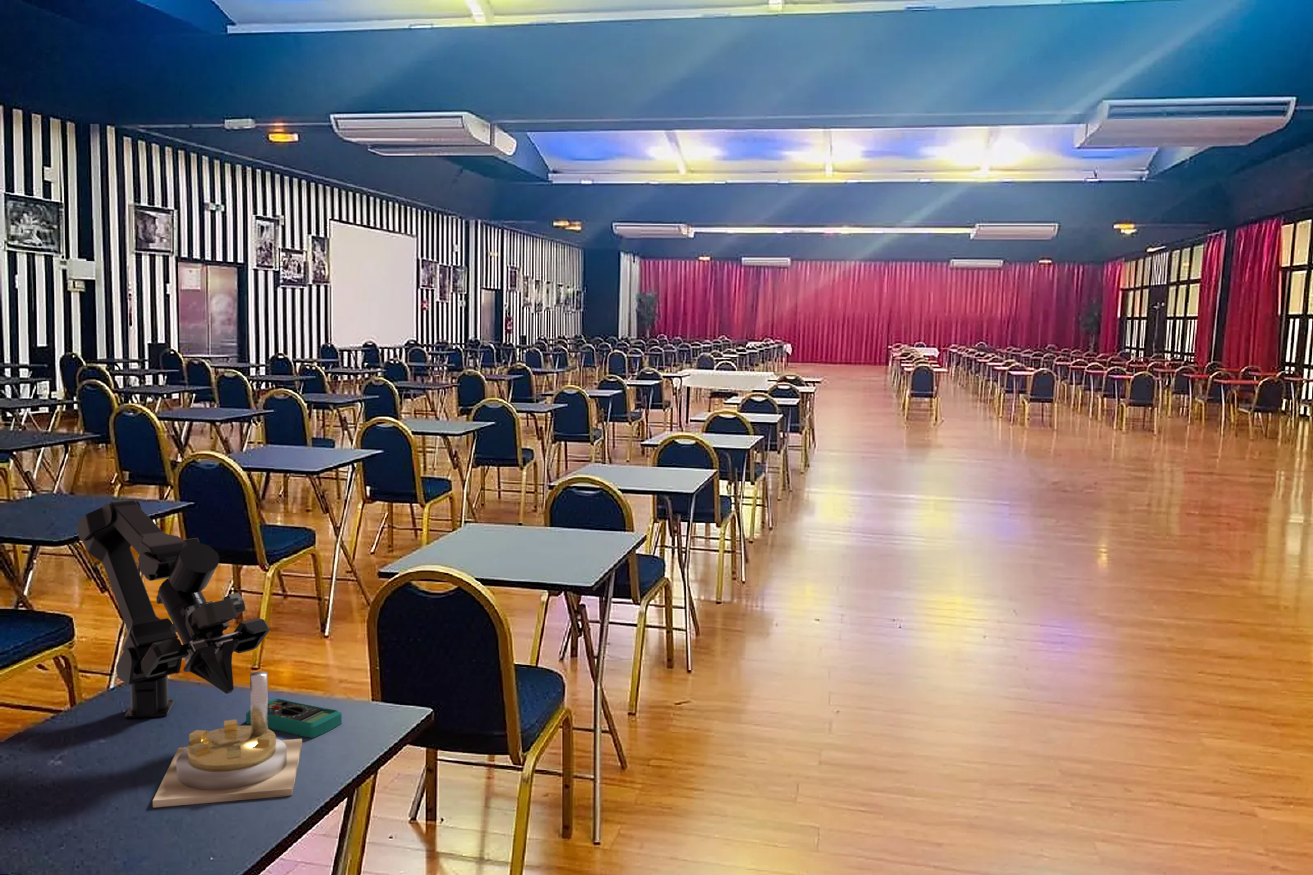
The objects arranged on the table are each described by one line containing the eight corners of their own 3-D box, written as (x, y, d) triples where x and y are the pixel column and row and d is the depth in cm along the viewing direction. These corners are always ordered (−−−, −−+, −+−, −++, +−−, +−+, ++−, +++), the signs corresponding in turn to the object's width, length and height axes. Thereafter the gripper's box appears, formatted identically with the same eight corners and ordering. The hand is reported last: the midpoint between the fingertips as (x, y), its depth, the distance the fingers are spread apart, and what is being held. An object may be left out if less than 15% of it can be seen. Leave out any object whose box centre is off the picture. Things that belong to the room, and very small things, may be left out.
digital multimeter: (274, 711, 177) (274, 695, 176) (343, 726, 171) (343, 708, 171) (242, 726, 170) (242, 709, 170) (313, 741, 164) (313, 724, 164)
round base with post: (195, 741, 155) (194, 670, 154) (280, 735, 158) (279, 665, 157) (179, 775, 143) (177, 699, 142) (271, 768, 146) (270, 694, 145)
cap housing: (178, 754, 157) (178, 735, 157) (302, 744, 162) (301, 726, 162) (152, 807, 140) (152, 786, 140) (292, 795, 145) (291, 775, 144)
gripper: (148, 590, 150) (191, 679, 145) (261, 568, 166) (304, 647, 160) (122, 633, 156) (163, 720, 150) (234, 608, 171) (275, 686, 166)
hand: (230, 691), depth 157 cm, fingers closed
